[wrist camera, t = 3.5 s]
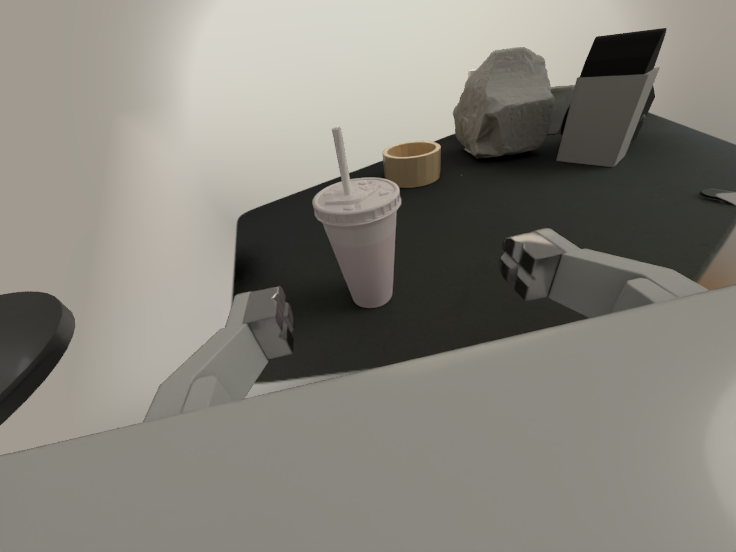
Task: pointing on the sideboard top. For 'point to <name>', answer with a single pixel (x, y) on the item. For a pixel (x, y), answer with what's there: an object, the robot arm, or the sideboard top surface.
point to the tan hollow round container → (412, 163)
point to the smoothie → (361, 230)
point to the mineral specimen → (560, 106)
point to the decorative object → (611, 98)
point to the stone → (505, 105)
